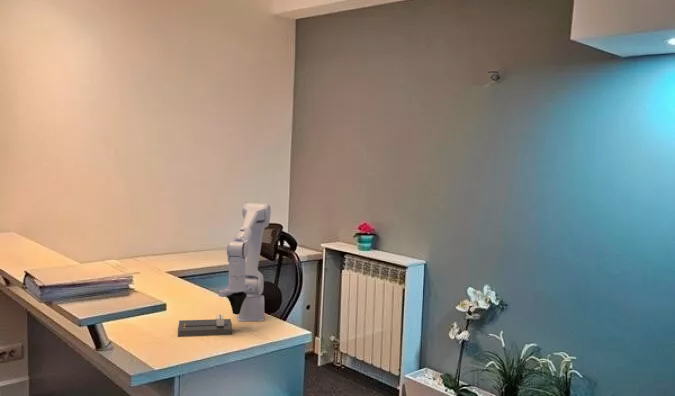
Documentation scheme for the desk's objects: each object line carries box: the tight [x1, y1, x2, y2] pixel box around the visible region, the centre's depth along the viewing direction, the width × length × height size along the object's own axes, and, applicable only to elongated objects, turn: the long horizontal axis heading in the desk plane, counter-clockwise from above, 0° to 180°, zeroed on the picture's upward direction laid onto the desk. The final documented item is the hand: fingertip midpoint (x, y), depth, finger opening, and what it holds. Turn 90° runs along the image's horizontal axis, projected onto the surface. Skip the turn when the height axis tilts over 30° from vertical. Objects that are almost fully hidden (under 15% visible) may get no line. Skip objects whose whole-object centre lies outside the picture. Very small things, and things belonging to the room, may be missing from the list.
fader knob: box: [215, 314, 225, 326], centre depth 205 cm, size 2×5×3 cm, turn 13°
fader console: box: [177, 318, 233, 338], centre depth 205 cm, size 18×12×2 cm, turn 103°
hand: (236, 313), depth 206 cm, fingers closed
